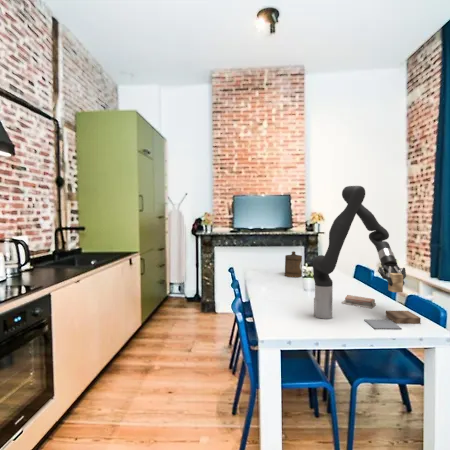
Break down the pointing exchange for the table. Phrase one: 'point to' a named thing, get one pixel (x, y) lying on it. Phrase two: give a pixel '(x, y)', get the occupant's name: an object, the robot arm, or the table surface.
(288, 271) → the wooden container
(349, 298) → the packaged product
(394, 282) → the maple block
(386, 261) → the robot arm
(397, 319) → the walnut ledge
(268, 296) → the table surface
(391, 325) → the mat
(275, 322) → the table surface
